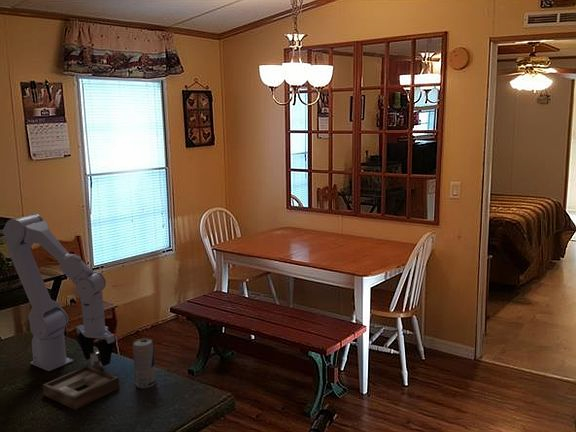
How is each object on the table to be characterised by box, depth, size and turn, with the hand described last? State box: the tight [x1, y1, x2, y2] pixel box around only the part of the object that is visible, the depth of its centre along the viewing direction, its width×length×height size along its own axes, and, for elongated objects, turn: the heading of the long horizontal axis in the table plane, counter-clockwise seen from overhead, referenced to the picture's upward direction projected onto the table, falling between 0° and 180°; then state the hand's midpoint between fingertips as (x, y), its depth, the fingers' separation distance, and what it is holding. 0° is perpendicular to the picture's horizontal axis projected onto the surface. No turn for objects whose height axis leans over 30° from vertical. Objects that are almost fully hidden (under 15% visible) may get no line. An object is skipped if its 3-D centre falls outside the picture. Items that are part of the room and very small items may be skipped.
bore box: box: [42, 365, 120, 411], centre depth 149 cm, size 13×13×3 cm
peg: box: [89, 349, 106, 371], centre depth 162 cm, size 4×4×5 cm
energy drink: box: [132, 337, 157, 389], centre depth 151 cm, size 5×5×12 cm
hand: (97, 361), depth 162 cm, fingers open, 7 cm apart
